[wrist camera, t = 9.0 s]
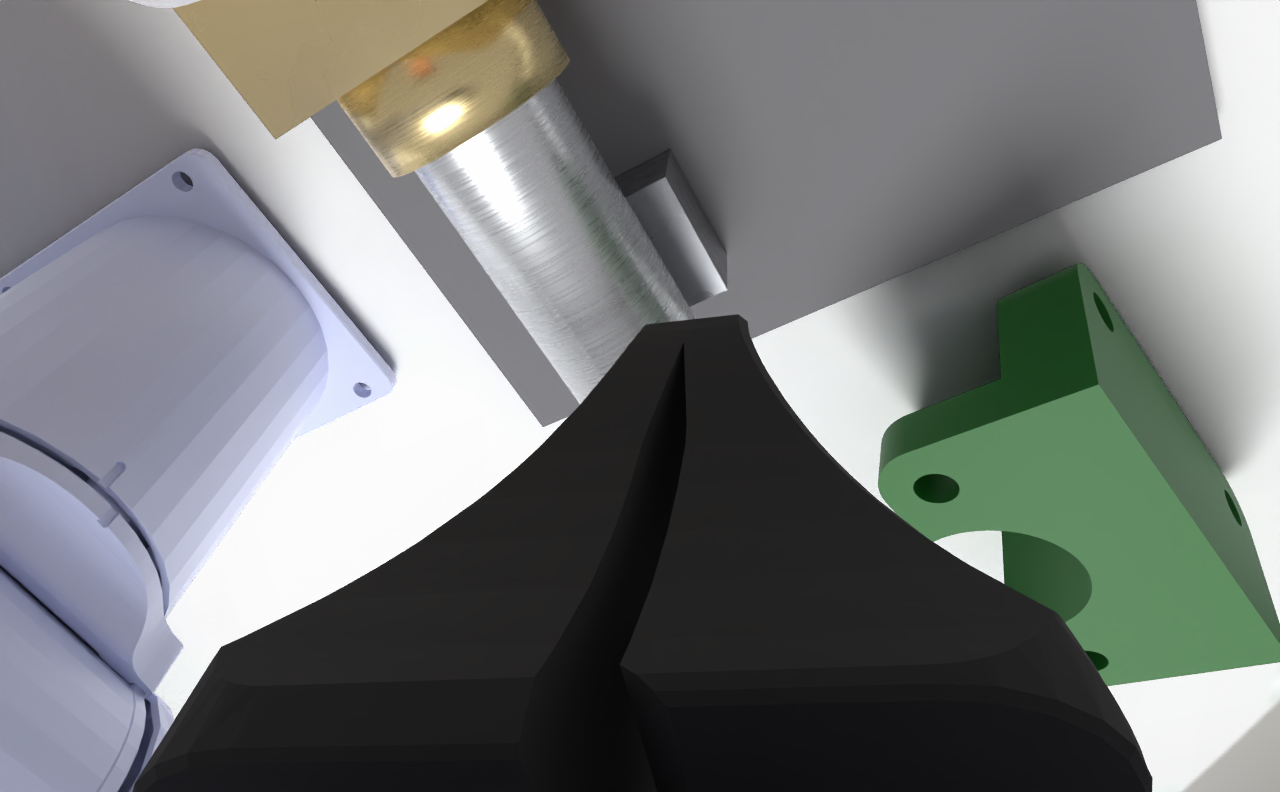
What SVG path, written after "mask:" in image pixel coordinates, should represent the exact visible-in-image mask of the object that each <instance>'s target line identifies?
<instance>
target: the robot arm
mask: <svg viewBox="0 0 1280 792" xmlns="http://www.w3.org/2000/svg"><path fill="white" fill-rule="evenodd" d="M180 172H183V173H185V174H187V175H188V176H189V177H190V178H191V180H192V182H193V186H190V185H188V184H187V183H185V182H184V181H183V179H182V177H181V173H180ZM360 382H361V383H365V384H366V385H368V386H369V387H370V389H371V390H366V389H364V388H362V387H361V386H360V385H359V383H360ZM395 384H396V376H395V374H394V372H393V370H392V369H391V368H390V367H389V366H388V364H387V363H386V362H385V361H384V360H383V358H382V357H381V356H380V355H379V354H378V352H377V351H376V350H375V349H374V348H373V346H372V345H371V344H370V343H369V341H368V340H367V339H366V338H365V337H364V335H363V334H362V333H361V332H360V331H359V329H358V328H357V327H356V326H355V325H354V323H353V322H352V321H351V320H350V319H349V317H348V316H347V315H346V314H345V313H344V311H343V310H342V309H341V308H340V306H339V305H338V304H337V303H336V302H335V300H334V299H333V298H332V297H331V296H330V294H329V293H328V292H327V291H326V290H325V288H324V287H323V286H322V285H321V284H320V282H319V281H318V280H317V279H316V278H315V276H314V275H313V274H312V273H311V272H310V270H309V269H308V268H307V267H306V265H305V264H304V263H303V262H302V261H301V259H300V258H299V257H298V256H297V255H296V253H295V252H294V251H293V250H292V249H291V247H290V246H289V245H288V244H287V243H286V241H285V240H284V239H283V238H282V237H281V235H280V234H279V233H278V232H277V230H276V229H275V228H274V227H273V226H272V224H271V223H270V222H269V221H268V220H267V218H266V217H265V216H264V215H263V214H262V212H261V211H260V210H259V209H258V208H257V206H256V205H255V204H254V203H253V202H252V200H251V199H250V198H249V197H248V196H247V194H246V193H245V192H244V191H243V189H242V188H241V187H240V186H239V185H238V183H237V182H236V181H235V180H234V179H233V177H232V176H231V175H230V174H229V173H228V171H227V170H226V169H225V168H224V167H223V165H222V164H221V163H220V162H219V161H218V159H217V158H216V157H215V156H213V155H212V154H211V153H210V152H208V151H206V150H204V149H197V148H194V149H192V150H189V151H187V152H185V153H184V154H182V155H180V156H179V157H178V158H176V159H175V160H173V161H172V162H170V163H169V164H167V165H166V166H164V167H163V168H161V169H160V170H158V171H157V172H156V173H154V174H153V175H151V176H150V177H148V178H147V179H145V180H144V181H142V182H141V183H139V184H138V185H137V186H135V187H134V188H132V189H131V190H129V191H128V192H126V193H125V194H123V195H122V196H120V197H119V198H117V199H116V200H115V201H113V202H112V203H110V204H109V205H107V206H106V207H104V208H103V209H101V210H100V211H98V212H97V213H95V214H94V215H93V216H91V217H90V218H88V219H87V220H85V221H84V222H82V223H81V224H79V225H78V226H76V227H75V228H73V229H72V230H71V231H69V232H68V233H66V234H65V235H63V236H62V237H60V238H59V239H57V240H56V241H54V242H53V243H51V244H50V245H49V246H47V247H46V248H44V249H43V250H41V251H40V252H38V253H37V254H35V255H34V256H32V257H31V258H29V259H28V260H27V261H25V262H24V263H22V264H21V265H19V266H18V267H16V268H15V269H13V270H12V271H10V272H9V273H8V274H6V275H5V276H3V277H2V278H0V792H1152V776H1151V774H1150V772H1149V770H1148V768H1147V766H1146V763H1145V760H1144V757H1143V754H1142V751H1141V748H1140V746H1139V744H1138V742H1137V740H1136V738H1135V735H1134V733H1133V731H1132V729H1131V727H1130V725H1129V723H1128V721H1127V720H1126V718H1125V716H1124V714H1123V712H1122V711H1121V709H1120V707H1119V705H1118V703H1117V702H1116V700H1115V698H1114V697H1113V695H1112V694H1111V692H1110V690H1109V689H1108V687H1107V685H1106V684H1105V682H1104V680H1103V679H1102V677H1101V676H1100V674H1099V672H1098V671H1097V669H1096V667H1095V666H1094V664H1093V662H1092V661H1091V659H1090V658H1089V657H1088V655H1087V654H1086V652H1085V651H1084V649H1083V648H1082V646H1081V645H1080V643H1079V642H1078V640H1077V639H1076V637H1075V636H1074V634H1073V633H1072V632H1071V630H1070V629H1069V627H1068V626H1067V625H1066V623H1065V622H1064V620H1063V619H1062V618H1061V616H1060V615H1059V614H1057V613H1056V612H1055V611H1053V610H1051V609H1050V608H1048V607H1046V606H1044V605H1042V604H1040V603H1038V602H1037V601H1035V600H1033V599H1031V598H1029V597H1027V596H1025V595H1024V594H1022V593H1020V592H1018V591H1016V590H1014V589H1013V588H1011V587H1009V586H1007V585H1005V584H1003V583H1001V582H1000V581H998V580H996V579H994V578H992V577H990V576H988V575H987V574H985V573H983V572H981V571H979V570H977V569H975V568H974V567H972V566H970V565H968V564H967V563H965V562H963V561H962V560H960V559H959V558H957V557H955V556H954V555H952V554H951V553H949V552H948V551H946V550H945V549H943V548H942V547H940V546H939V545H937V544H935V543H934V542H932V541H931V540H929V539H928V538H927V537H925V536H924V535H923V534H922V533H920V532H919V531H918V530H916V529H915V528H914V527H912V526H911V525H910V524H909V523H907V522H906V521H905V520H903V519H902V518H901V517H899V516H898V515H897V514H896V513H894V512H893V511H892V510H890V509H889V508H888V507H887V506H885V505H884V504H883V503H881V502H880V501H879V500H878V499H876V498H875V497H874V496H873V495H872V494H871V493H870V492H868V491H867V490H866V489H865V488H864V487H863V486H862V485H861V484H860V483H859V482H858V481H856V480H855V479H854V478H853V477H852V476H851V475H850V474H849V473H848V472H847V471H846V470H845V469H844V468H843V467H842V466H841V465H840V464H839V463H838V462H837V461H836V460H835V459H834V458H833V457H832V456H831V455H830V454H829V453H828V452H827V451H826V450H825V448H824V447H823V446H822V445H821V444H820V443H819V442H818V441H817V439H816V438H815V437H814V436H813V435H812V434H811V432H810V431H809V430H808V429H807V428H806V426H805V425H804V424H803V422H802V421H801V420H800V419H799V417H798V416H797V415H796V414H795V412H794V411H793V410H792V408H791V407H790V405H789V404H788V403H787V401H786V400H785V399H784V397H783V396H782V394H781V392H780V391H779V389H778V388H777V386H776V385H775V383H774V382H773V380H772V378H771V377H770V375H769V374H768V372H767V370H766V369H765V367H764V365H763V363H762V361H761V359H760V357H759V355H758V353H757V351H756V349H755V347H754V345H753V342H752V340H751V337H750V334H749V327H748V321H746V320H745V319H744V318H743V317H741V316H740V315H739V314H736V315H726V316H717V317H708V318H699V319H690V320H681V321H672V322H663V323H654V324H646V325H645V326H644V327H643V328H642V329H641V331H640V332H639V333H638V334H637V335H636V337H635V338H634V339H633V340H632V341H631V343H630V344H629V345H628V346H627V348H626V349H625V350H624V352H623V353H622V354H621V355H620V357H619V358H618V359H617V360H616V362H615V363H614V364H613V365H612V367H611V368H610V369H609V370H608V372H607V373H606V374H605V375H604V377H603V378H602V379H601V380H600V382H599V383H598V384H597V385H596V386H595V387H594V389H593V390H592V391H591V392H590V393H589V395H588V396H587V397H586V398H585V399H584V400H583V402H582V403H581V404H580V405H579V406H578V407H577V408H576V410H575V411H574V412H573V413H572V414H571V415H570V416H569V417H568V418H567V419H566V420H565V421H564V422H563V423H562V424H561V425H560V426H559V427H558V428H557V429H556V431H555V432H554V433H553V434H552V435H551V436H550V437H549V438H548V439H547V440H546V441H545V442H544V443H543V444H542V445H541V446H540V447H539V448H538V449H537V450H536V451H535V452H534V453H533V454H532V455H531V456H529V457H528V458H527V459H526V460H525V461H524V462H523V463H522V464H521V465H520V466H518V467H517V468H516V469H515V470H514V471H513V472H511V473H510V474H509V475H508V476H507V477H505V478H504V479H503V480H502V481H501V482H500V483H498V484H497V485H496V486H495V487H494V488H492V489H491V490H490V491H489V492H487V493H486V494H485V495H484V496H482V497H481V498H480V499H479V500H477V501H476V502H474V503H473V504H472V505H470V506H469V507H467V508H466V509H465V510H463V511H462V512H460V513H459V514H458V515H456V516H455V517H453V518H452V519H451V520H449V521H448V522H446V523H445V524H444V525H442V526H441V527H439V528H438V529H436V530H435V531H434V532H432V533H431V534H429V535H428V536H427V537H425V538H424V539H422V540H421V541H419V542H418V543H416V544H415V545H413V546H412V547H410V548H409V549H407V550H405V551H404V552H402V553H400V554H399V555H397V556H396V557H394V558H392V559H391V560H389V561H387V562H386V563H384V564H383V565H381V566H379V567H378V568H376V569H374V570H372V571H371V572H369V573H367V574H365V575H364V576H362V577H360V578H358V579H357V580H355V581H353V582H351V583H350V584H348V585H346V586H344V587H343V588H341V589H339V590H337V591H335V592H333V593H331V594H329V595H328V596H326V597H324V598H322V599H320V600H318V601H316V602H314V603H312V604H310V605H308V606H306V607H304V608H302V609H300V610H298V611H296V612H294V613H292V614H290V615H288V616H285V617H283V618H281V619H279V620H277V621H275V622H273V623H271V624H269V625H267V626H265V627H263V628H261V629H259V630H257V631H255V632H253V633H251V634H249V635H247V636H245V637H242V638H240V639H238V640H236V641H233V642H231V643H229V644H227V645H225V646H222V647H221V648H220V650H219V651H218V653H217V654H216V656H215V657H214V658H213V660H212V661H211V663H210V665H209V666H208V668H207V669H206V671H205V673H204V674H203V676H202V677H201V679H200V680H199V682H198V684H197V685H196V687H195V688H194V690H193V692H192V693H191V695H190V696H189V698H188V699H187V701H186V703H185V704H184V706H183V707H182V709H181V711H180V712H179V714H178V715H177V717H176V719H175V720H174V717H173V714H172V711H171V709H170V708H169V707H168V705H167V704H166V703H165V702H164V701H163V700H162V699H161V698H160V697H158V696H157V695H156V694H154V691H155V690H156V688H157V687H158V685H159V684H160V682H161V681H162V679H163V678H164V676H165V675H166V673H167V672H168V670H169V669H170V667H171V666H172V664H173V663H174V661H175V660H176V658H177V657H178V655H179V654H180V652H181V651H182V649H183V644H182V643H181V641H180V640H179V639H178V638H177V637H176V636H175V635H174V634H173V632H172V631H171V629H170V628H169V626H168V624H167V622H166V620H165V619H166V617H167V616H168V614H169V613H170V612H171V610H172V609H173V607H174V606H175V604H176V603H177V602H178V600H179V599H180V597H181V596H182V595H183V593H184V592H185V590H186V589H187V588H188V586H189V585H190V583H191V582H192V581H193V579H194V578H195V576H196V575H197V574H198V572H199V571H200V569H201V568H202V567H203V565H204V564H205V562H206V561H207V560H208V558H209V557H210V555H211V554H212V553H213V551H214V550H215V548H216V547H217V546H218V544H219V543H220V541H221V540H222V538H223V537H224V536H225V534H226V533H227V531H228V530H229V529H230V527H231V526H232V524H233V523H234V522H235V520H236V519H237V517H238V516H239V515H240V513H241V512H242V510H243V509H244V508H245V506H246V505H247V503H248V502H249V501H250V499H251V498H252V496H253V495H254V494H255V492H256V491H257V489H258V488H259V487H260V485H261V484H262V482H263V481H264V480H265V478H266V477H267V475H268V474H269V472H270V471H271V470H272V468H273V467H274V465H275V464H276V463H277V461H278V460H279V458H280V457H281V456H282V454H283V453H284V451H285V450H286V449H287V447H288V446H289V444H290V443H291V442H292V441H293V440H295V439H297V438H299V437H301V436H303V435H306V434H308V433H310V432H312V431H314V430H316V429H318V428H320V427H322V426H324V425H327V424H329V423H331V422H333V421H335V420H337V419H339V418H341V417H343V416H345V415H347V414H350V413H352V412H354V411H356V410H358V409H360V408H362V407H364V406H366V405H368V404H370V403H373V402H375V401H377V400H379V399H381V398H383V397H385V396H387V395H388V394H390V393H391V392H392V390H393V388H394V387H395Z"/></svg>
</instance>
